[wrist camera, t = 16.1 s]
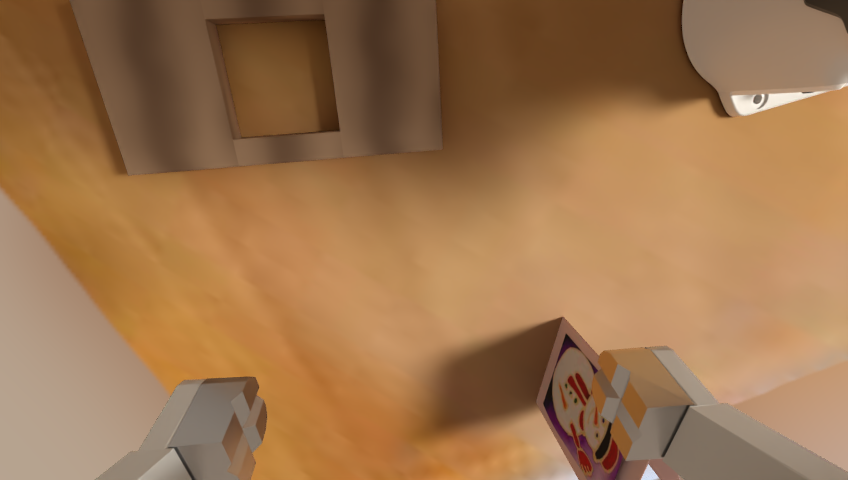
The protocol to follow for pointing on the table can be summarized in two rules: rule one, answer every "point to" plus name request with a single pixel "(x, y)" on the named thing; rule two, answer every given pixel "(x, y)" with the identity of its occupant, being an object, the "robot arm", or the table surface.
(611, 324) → the table surface
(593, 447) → the greeting card
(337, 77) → the wooden board with hole
